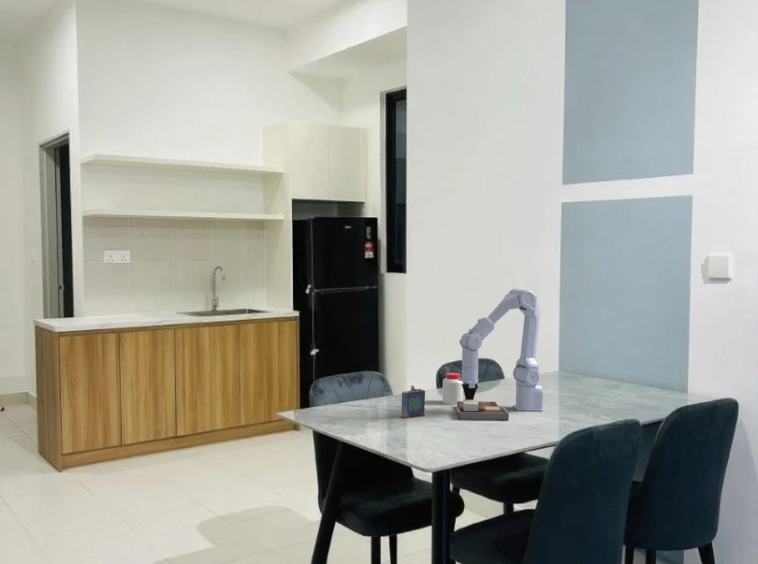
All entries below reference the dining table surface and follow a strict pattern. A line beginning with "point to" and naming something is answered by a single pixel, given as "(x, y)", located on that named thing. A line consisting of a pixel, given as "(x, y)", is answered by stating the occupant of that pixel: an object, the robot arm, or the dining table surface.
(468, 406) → the tile cream
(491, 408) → the tile terracotta
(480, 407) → the board
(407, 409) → the flask
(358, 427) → the dining table surface
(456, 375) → the pill bottle
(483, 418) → the tray
